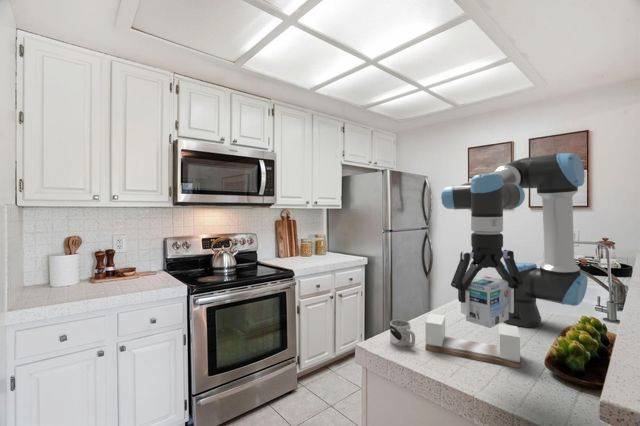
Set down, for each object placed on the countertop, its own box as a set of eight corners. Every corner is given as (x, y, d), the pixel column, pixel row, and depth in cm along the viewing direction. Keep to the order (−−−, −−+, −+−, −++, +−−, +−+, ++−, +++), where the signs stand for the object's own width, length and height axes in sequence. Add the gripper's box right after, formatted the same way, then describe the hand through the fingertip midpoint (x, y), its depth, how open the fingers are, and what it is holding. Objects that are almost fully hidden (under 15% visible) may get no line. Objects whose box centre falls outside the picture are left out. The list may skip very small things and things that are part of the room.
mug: (386, 340, 108) (386, 321, 108) (400, 336, 111) (400, 318, 111) (406, 352, 99) (406, 332, 99) (422, 348, 102) (421, 328, 102)
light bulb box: (490, 329, 78) (490, 286, 77) (464, 321, 83) (464, 281, 83) (509, 319, 84) (509, 279, 84) (484, 312, 89) (484, 275, 89)
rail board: (516, 353, 97) (516, 347, 97) (520, 368, 89) (520, 362, 89) (430, 337, 110) (430, 332, 110) (425, 349, 101) (425, 343, 101)
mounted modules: (517, 348, 97) (517, 326, 97) (519, 361, 89) (520, 337, 89) (429, 333, 109) (429, 313, 109) (425, 343, 101) (425, 322, 101)
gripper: (451, 235, 78) (452, 320, 78) (539, 232, 80) (539, 314, 81) (436, 232, 85) (437, 310, 86) (517, 230, 88) (517, 305, 89)
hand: (487, 312), depth 83 cm, fingers closed on light bulb box, 12 cm apart
